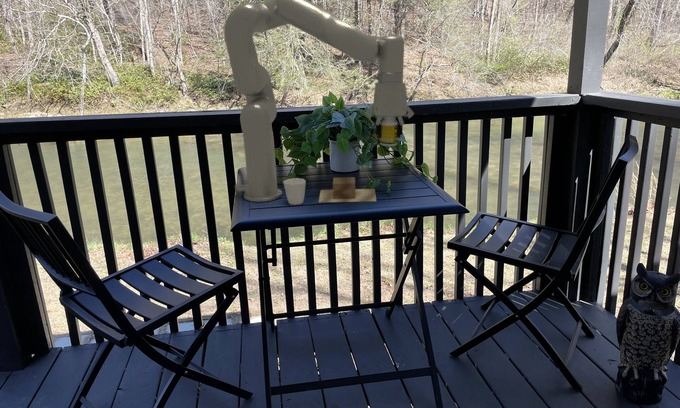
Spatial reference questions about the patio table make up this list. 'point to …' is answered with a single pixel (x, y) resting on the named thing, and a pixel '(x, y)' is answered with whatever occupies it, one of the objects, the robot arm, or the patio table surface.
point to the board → (360, 196)
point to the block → (344, 188)
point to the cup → (295, 190)
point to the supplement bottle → (389, 131)
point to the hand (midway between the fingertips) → (388, 136)
